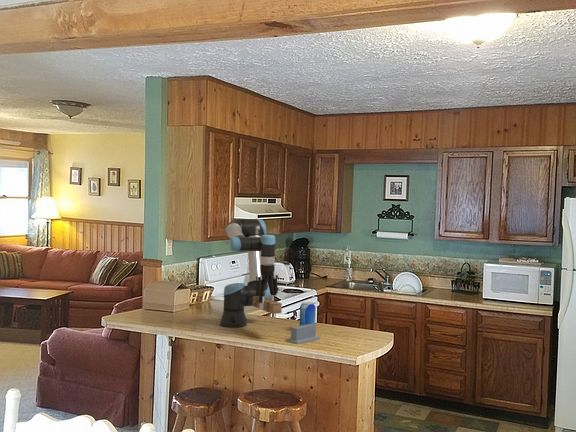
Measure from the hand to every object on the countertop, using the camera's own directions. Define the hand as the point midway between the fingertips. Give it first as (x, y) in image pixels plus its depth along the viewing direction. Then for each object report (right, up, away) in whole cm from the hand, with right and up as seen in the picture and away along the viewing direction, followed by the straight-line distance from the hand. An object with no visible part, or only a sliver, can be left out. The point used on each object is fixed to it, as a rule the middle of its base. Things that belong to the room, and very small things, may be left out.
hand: (266, 308), depth 311 cm
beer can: (+22, -15, +12) cm, 29 cm away
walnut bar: (0, -1, 0) cm, 1 cm away
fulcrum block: (+19, -15, -7) cm, 26 cm away
